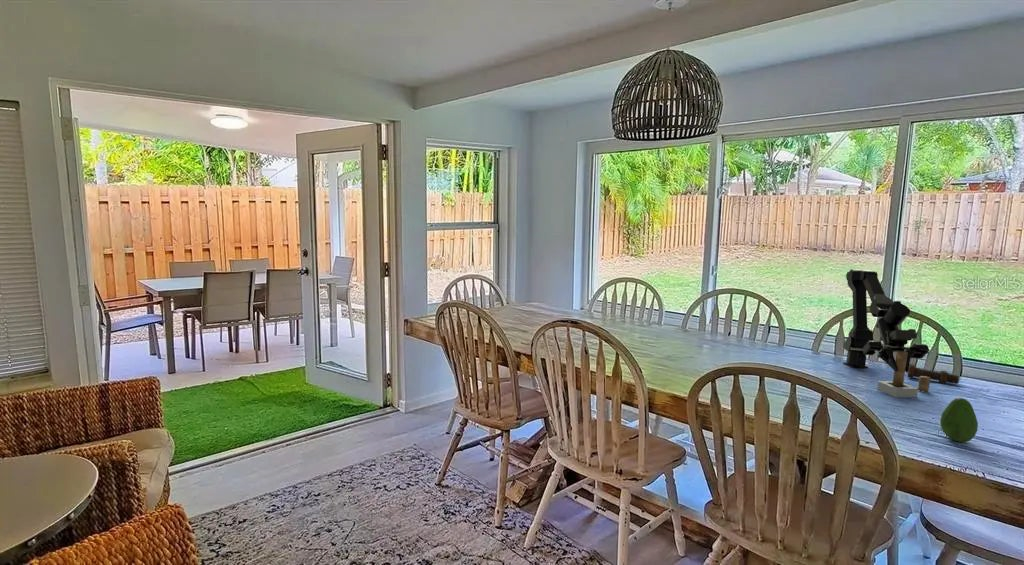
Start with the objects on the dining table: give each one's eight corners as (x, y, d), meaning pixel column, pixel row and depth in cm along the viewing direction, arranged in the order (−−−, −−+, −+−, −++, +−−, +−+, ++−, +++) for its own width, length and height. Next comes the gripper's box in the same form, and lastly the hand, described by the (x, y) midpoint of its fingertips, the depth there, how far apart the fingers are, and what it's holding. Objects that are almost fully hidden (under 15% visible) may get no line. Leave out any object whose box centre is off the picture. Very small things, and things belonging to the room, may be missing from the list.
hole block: (877, 389, 192) (878, 381, 192) (897, 389, 193) (898, 381, 193) (895, 397, 184) (896, 389, 184) (917, 397, 185) (918, 388, 185)
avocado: (957, 434, 155) (964, 394, 153) (982, 447, 147) (989, 404, 145) (930, 434, 154) (936, 393, 153) (953, 446, 147) (960, 403, 145)
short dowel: (915, 389, 194) (917, 375, 193) (923, 389, 194) (925, 375, 193) (922, 392, 191) (924, 378, 190) (930, 392, 191) (932, 378, 190)
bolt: (956, 390, 200) (906, 380, 208) (956, 380, 203) (907, 371, 211) (960, 379, 197) (909, 369, 205) (960, 369, 200) (910, 360, 208)
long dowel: (889, 390, 189) (895, 351, 187) (894, 389, 191) (899, 350, 189) (899, 393, 187) (904, 353, 185) (903, 391, 188) (909, 352, 186)
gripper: (870, 318, 191) (881, 357, 182) (930, 321, 187) (944, 361, 178) (858, 334, 200) (868, 373, 190) (914, 338, 196) (927, 377, 187)
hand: (901, 371), depth 186 cm, fingers closed on long dowel, 3 cm apart
